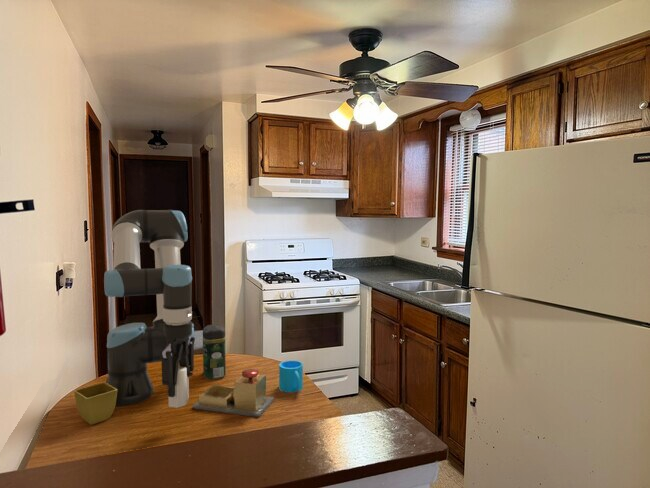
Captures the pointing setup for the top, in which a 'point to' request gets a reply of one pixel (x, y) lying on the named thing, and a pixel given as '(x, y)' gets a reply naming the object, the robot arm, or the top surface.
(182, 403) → the white rounded cylinder
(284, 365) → the mug
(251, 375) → the red push button box
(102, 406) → the flower pot
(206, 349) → the coffee jar
